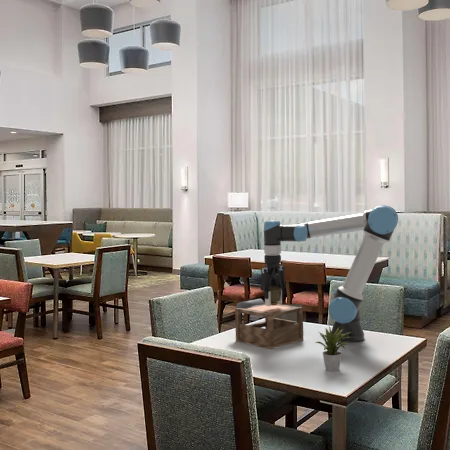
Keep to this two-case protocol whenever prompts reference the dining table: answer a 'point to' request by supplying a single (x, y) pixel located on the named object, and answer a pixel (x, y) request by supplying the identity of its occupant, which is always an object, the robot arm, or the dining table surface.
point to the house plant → (332, 349)
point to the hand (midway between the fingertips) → (273, 304)
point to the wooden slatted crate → (270, 328)
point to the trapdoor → (259, 306)
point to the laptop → (290, 314)
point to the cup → (275, 295)
